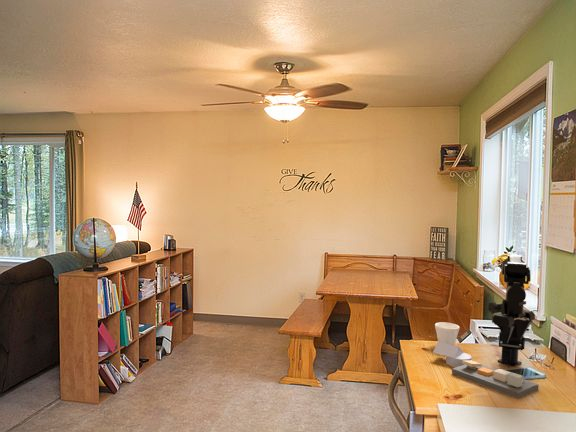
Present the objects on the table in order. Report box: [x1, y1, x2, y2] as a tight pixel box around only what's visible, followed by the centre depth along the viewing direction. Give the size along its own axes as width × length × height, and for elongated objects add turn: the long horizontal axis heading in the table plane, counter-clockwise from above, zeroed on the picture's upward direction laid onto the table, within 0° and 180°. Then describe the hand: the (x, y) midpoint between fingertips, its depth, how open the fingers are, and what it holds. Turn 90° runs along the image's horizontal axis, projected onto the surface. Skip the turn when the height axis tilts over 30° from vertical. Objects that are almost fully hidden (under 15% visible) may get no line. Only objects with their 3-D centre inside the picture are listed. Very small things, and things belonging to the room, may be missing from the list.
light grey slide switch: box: [507, 372, 524, 387], centre depth 151 cm, size 3×4×3 cm
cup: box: [434, 321, 460, 346], centre depth 196 cm, size 10×10×9 cm
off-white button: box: [493, 368, 512, 382], centre depth 157 cm, size 4×4×2 cm
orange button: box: [477, 367, 494, 377], centre depth 162 cm, size 4×4×2 cm
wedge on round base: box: [432, 341, 472, 368], centre depth 177 cm, size 9×7×13 cm
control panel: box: [451, 364, 539, 400], centre depth 159 cm, size 13×24×3 cm, turn 36°
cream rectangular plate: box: [462, 359, 482, 367], centre depth 166 cm, size 6×4×1 cm, turn 126°
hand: (512, 341), depth 164 cm, fingers open, 9 cm apart
